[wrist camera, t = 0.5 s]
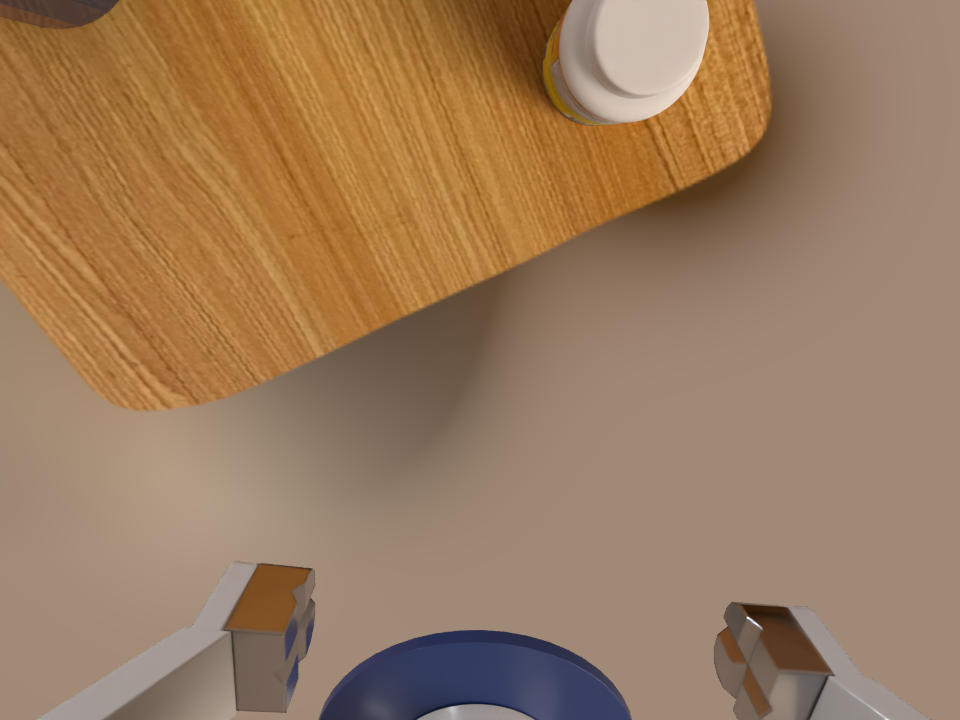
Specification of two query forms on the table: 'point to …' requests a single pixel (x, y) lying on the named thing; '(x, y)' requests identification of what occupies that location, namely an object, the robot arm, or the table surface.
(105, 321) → the table surface
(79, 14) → the crock
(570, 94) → the supplement bottle
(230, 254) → the table surface
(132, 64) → the table surface
